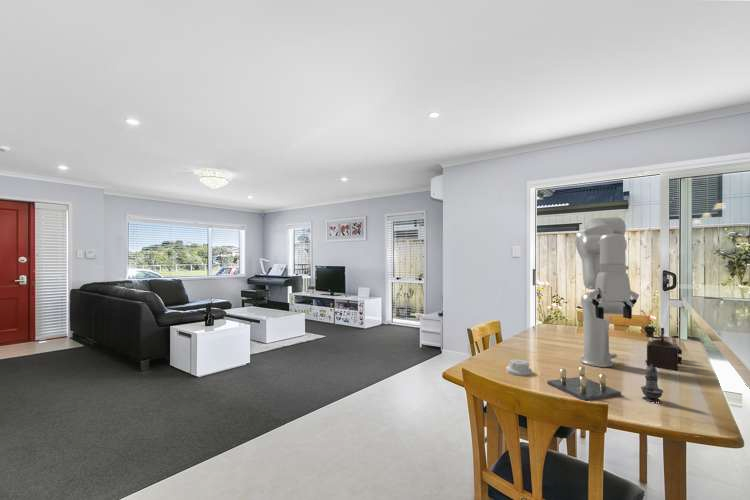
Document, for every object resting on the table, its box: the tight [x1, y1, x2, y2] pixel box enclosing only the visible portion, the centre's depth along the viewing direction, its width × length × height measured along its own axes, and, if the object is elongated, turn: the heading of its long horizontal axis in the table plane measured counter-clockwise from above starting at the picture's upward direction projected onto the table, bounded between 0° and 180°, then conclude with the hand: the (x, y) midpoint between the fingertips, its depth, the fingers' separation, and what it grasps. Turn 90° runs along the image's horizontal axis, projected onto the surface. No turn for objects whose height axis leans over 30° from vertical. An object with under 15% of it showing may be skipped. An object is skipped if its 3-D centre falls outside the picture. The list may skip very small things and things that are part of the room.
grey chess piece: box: [640, 364, 664, 404], centre depth 117 cm, size 6×6×12 cm
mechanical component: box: [505, 358, 533, 377], centre depth 146 cm, size 10×4×10 cm
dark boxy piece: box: [643, 325, 679, 372], centre depth 152 cm, size 16×11×18 cm
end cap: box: [678, 346, 683, 365], centre depth 161 cm, size 10×7×7 cm
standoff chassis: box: [547, 366, 622, 401], centre depth 126 cm, size 16×16×6 cm
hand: (613, 318), depth 123 cm, fingers open, 9 cm apart
